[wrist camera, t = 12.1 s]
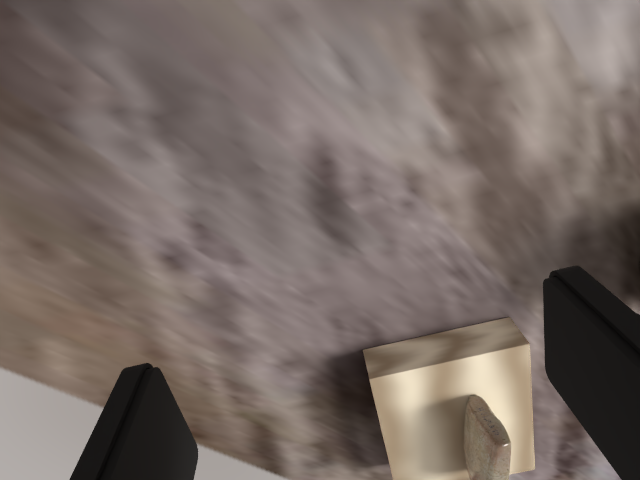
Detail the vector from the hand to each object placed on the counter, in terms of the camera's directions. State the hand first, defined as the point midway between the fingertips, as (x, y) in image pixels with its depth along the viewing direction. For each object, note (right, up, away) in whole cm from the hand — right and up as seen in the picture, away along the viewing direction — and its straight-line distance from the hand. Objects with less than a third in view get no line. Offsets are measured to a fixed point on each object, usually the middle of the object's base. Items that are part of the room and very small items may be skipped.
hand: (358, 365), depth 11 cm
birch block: (+12, -13, +36) cm, 40 cm away
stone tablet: (+14, -16, +33) cm, 40 cm away
